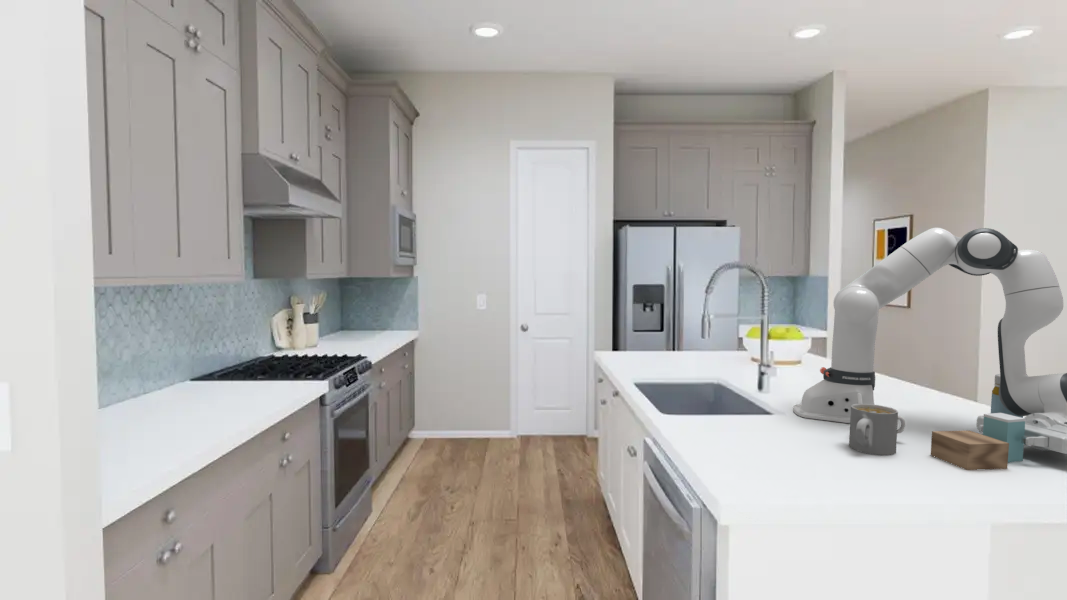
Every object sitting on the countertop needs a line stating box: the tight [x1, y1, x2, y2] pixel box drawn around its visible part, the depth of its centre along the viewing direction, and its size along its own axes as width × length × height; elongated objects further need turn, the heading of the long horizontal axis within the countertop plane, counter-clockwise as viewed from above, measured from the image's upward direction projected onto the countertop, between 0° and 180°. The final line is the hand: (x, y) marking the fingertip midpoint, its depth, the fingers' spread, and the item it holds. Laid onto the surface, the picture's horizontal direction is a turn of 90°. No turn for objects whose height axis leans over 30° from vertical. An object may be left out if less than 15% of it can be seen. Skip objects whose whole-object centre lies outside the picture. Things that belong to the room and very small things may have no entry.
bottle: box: [990, 373, 1024, 418], centre depth 160 cm, size 7×7×15 cm
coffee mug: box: [848, 404, 899, 456], centre depth 140 cm, size 13×10×10 cm
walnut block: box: [930, 430, 1009, 471], centre depth 133 cm, size 10×10×6 cm
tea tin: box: [982, 412, 1026, 463], centre depth 136 cm, size 6×6×10 cm
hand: (1002, 435), depth 136 cm, fingers open, 8 cm apart
